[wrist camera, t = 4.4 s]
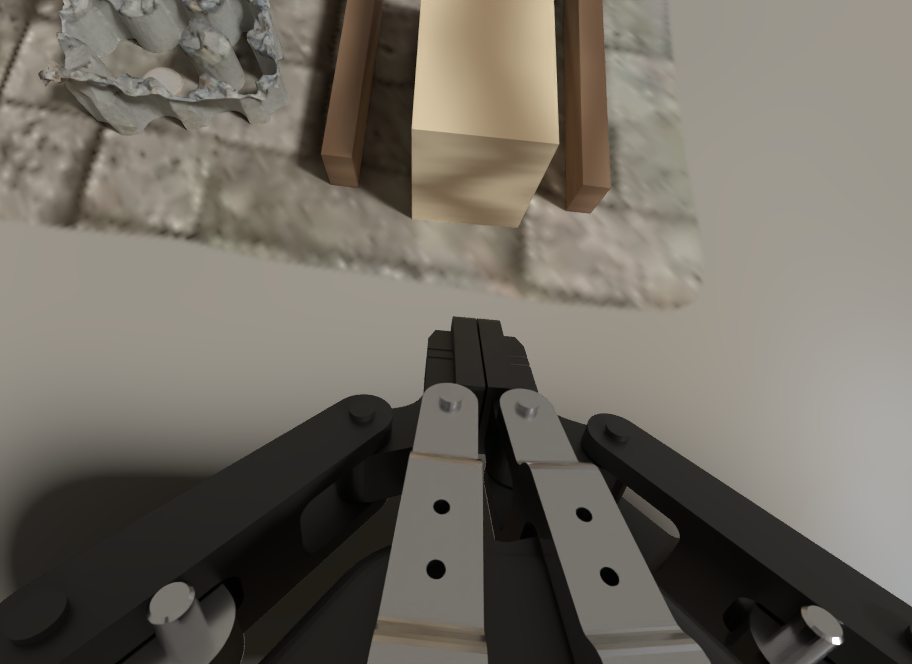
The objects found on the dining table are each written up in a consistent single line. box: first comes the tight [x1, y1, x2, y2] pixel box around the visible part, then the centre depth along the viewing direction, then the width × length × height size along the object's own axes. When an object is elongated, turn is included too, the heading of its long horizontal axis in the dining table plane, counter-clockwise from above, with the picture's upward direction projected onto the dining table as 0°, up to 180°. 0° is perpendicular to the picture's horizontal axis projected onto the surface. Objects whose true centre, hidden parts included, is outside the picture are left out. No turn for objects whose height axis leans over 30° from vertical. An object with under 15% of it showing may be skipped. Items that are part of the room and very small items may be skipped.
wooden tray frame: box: [321, 0, 611, 213], centre depth 25 cm, size 15×22×3 cm
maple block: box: [412, 0, 559, 228], centre depth 21 cm, size 6×12×7 cm, turn 178°
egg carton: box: [38, 0, 288, 136], centre depth 22 cm, size 11×8×4 cm
